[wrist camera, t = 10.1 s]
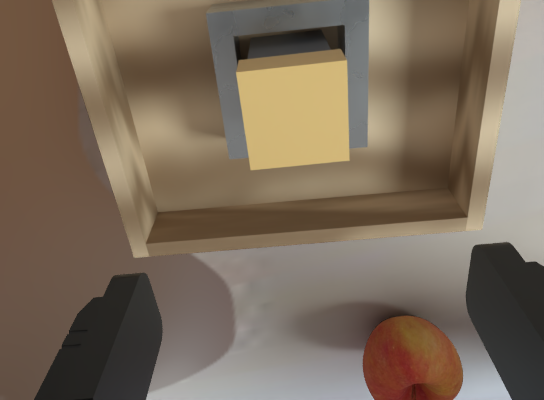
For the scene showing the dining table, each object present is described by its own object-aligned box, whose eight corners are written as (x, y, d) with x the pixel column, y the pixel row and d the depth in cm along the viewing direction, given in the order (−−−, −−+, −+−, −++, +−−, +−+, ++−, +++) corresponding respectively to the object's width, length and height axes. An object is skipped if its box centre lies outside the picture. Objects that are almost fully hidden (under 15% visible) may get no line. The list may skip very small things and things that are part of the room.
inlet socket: (358, 127, 29) (367, 147, 26) (232, 138, 29) (229, 159, 27) (359, -12, 25) (369, -4, 22) (212, 4, 25) (205, 13, 22)
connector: (326, 23, 26) (347, 60, 19) (330, 102, 28) (349, 160, 21) (244, 33, 26) (235, 72, 19) (255, 110, 28) (250, 170, 21)
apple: (451, 296, 37) (491, 380, 30) (431, 357, 41) (463, 444, 34) (361, 293, 37) (382, 377, 30) (349, 355, 41) (365, 441, 34)
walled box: (456, 193, 32) (482, 229, 28) (149, 219, 33) (134, 257, 29) (502, -166, 22) (552, -184, 18) (56, -112, 23) (13, -119, 19)
